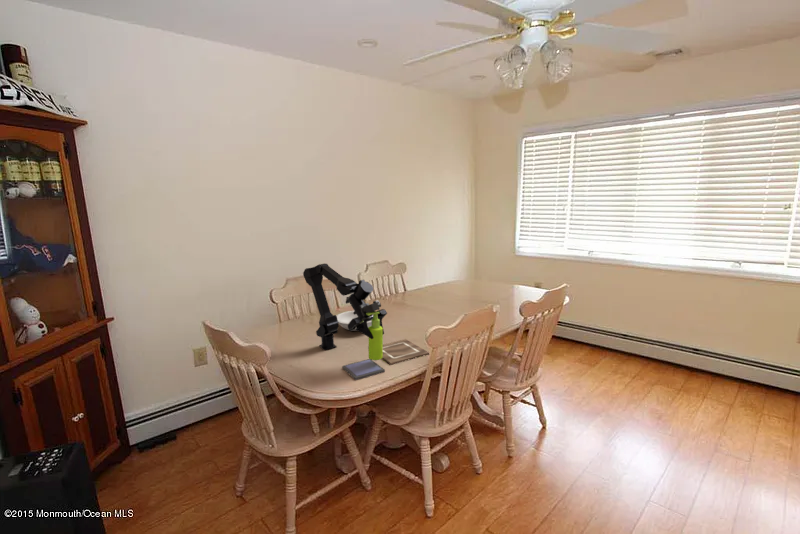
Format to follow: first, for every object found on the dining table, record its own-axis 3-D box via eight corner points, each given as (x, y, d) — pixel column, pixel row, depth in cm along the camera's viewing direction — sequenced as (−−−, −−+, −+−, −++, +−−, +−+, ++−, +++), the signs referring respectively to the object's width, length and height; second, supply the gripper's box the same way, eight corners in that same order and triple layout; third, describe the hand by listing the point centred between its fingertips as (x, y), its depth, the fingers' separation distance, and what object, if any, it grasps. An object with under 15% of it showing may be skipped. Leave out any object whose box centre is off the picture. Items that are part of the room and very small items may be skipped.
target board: (369, 349, 185) (369, 347, 185) (405, 340, 195) (405, 338, 195) (390, 364, 168) (390, 362, 168) (429, 354, 178) (429, 352, 178)
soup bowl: (343, 320, 228) (343, 309, 227) (384, 322, 223) (383, 311, 222) (327, 334, 205) (327, 322, 204) (372, 337, 200) (372, 325, 199)
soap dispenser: (364, 356, 168) (363, 311, 164) (378, 353, 171) (378, 308, 167) (370, 361, 163) (369, 315, 159) (385, 358, 166) (385, 312, 162)
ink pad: (342, 368, 166) (342, 365, 166) (370, 360, 172) (370, 358, 172) (355, 380, 155) (355, 377, 155) (384, 371, 161) (384, 369, 161)
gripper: (351, 299, 158) (371, 332, 153) (383, 290, 171) (403, 320, 166) (339, 314, 164) (358, 346, 159) (371, 304, 178) (389, 333, 173)
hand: (378, 336), depth 164 cm, fingers closed on soap dispenser, 6 cm apart
